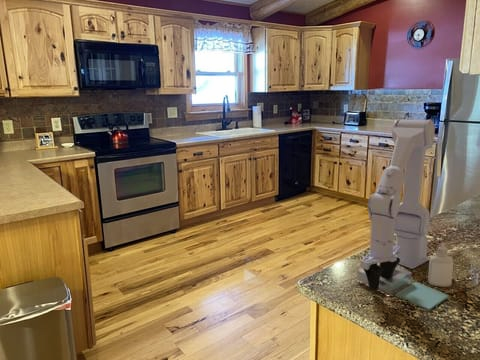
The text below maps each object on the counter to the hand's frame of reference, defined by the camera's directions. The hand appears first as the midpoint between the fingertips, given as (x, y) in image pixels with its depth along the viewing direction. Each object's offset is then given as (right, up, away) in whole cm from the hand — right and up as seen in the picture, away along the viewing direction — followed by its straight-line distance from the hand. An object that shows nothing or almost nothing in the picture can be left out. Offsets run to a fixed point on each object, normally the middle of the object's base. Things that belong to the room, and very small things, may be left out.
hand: (379, 285), depth 101 cm
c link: (+3, 0, +4) cm, 5 cm away
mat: (+10, -2, -3) cm, 10 cm away
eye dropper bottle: (+17, 0, +2) cm, 17 cm away
